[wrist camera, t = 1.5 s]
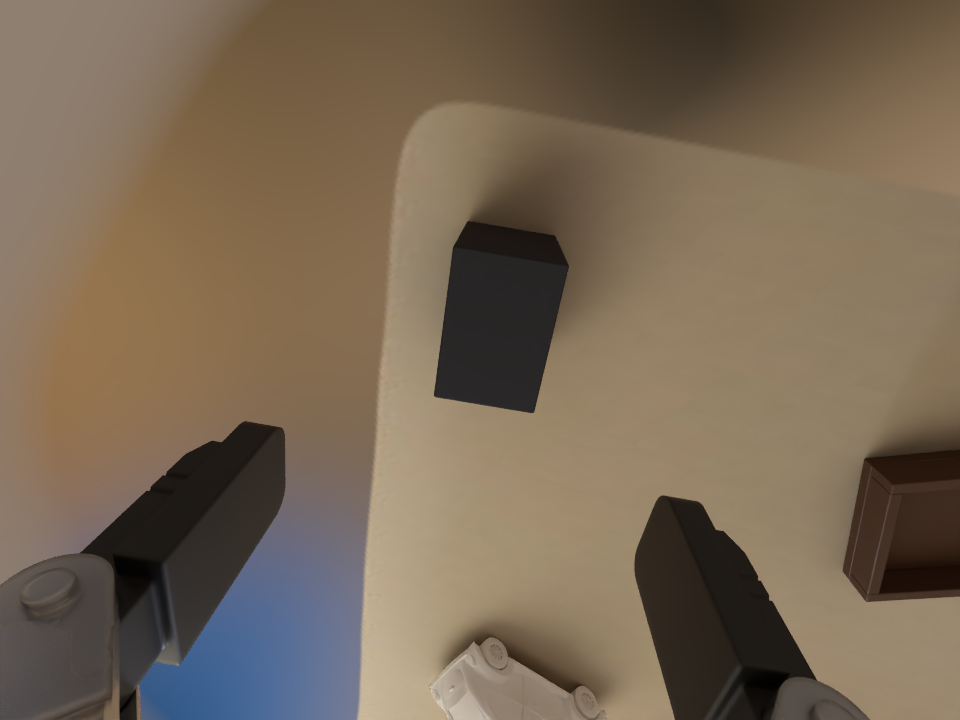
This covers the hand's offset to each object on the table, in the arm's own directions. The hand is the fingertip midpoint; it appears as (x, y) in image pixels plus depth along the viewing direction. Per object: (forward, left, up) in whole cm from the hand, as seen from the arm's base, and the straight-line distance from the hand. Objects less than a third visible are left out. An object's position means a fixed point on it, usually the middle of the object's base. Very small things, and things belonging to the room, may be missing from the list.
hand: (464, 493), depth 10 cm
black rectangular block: (0, 0, -14) cm, 14 cm away
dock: (+15, +23, -14) cm, 31 cm away
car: (+29, -3, -14) cm, 32 cm away
